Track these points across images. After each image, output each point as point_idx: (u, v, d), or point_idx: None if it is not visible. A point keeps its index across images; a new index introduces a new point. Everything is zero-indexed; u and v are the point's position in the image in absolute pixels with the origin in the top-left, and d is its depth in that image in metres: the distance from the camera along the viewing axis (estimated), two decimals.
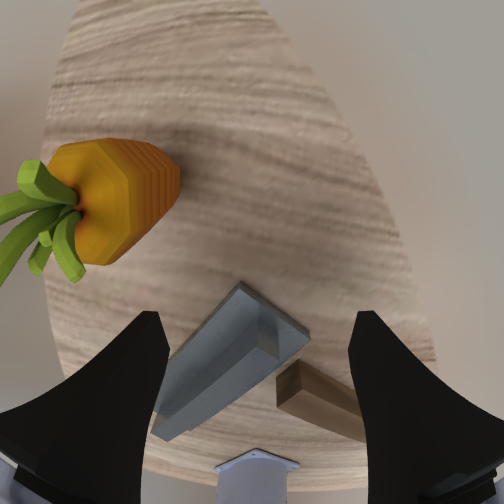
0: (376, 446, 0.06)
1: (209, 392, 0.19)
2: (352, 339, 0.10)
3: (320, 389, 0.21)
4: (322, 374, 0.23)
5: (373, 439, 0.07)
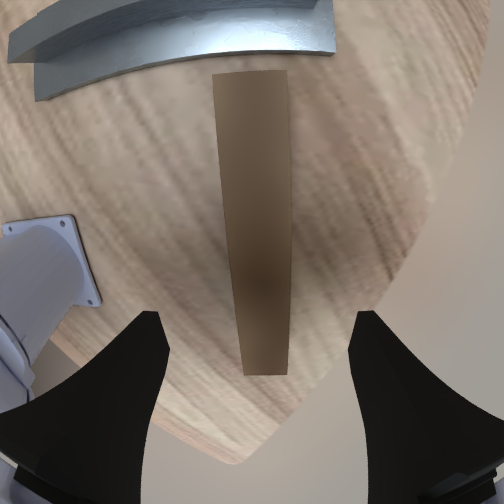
0: (376, 446, 0.06)
1: None
2: (352, 339, 0.10)
3: None
4: None
5: (373, 439, 0.07)
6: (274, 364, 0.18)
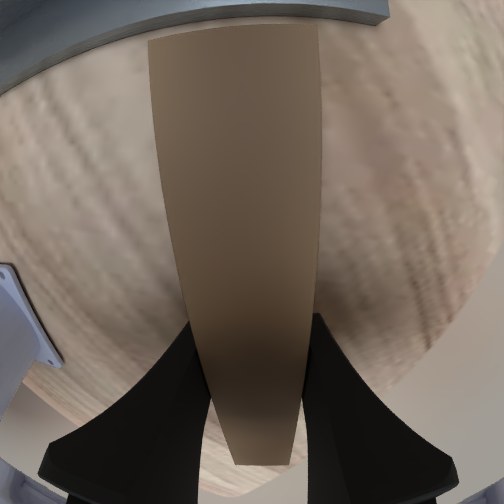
0: (311, 455, 0.06)
1: None
2: None
3: None
4: None
5: (310, 447, 0.07)
6: (273, 459, 0.12)
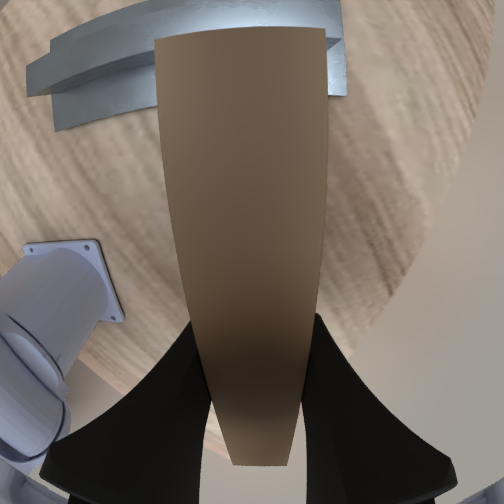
0: (310, 455, 0.06)
1: (197, 9, 0.08)
2: None
3: None
4: None
5: (309, 447, 0.07)
6: (271, 460, 0.12)
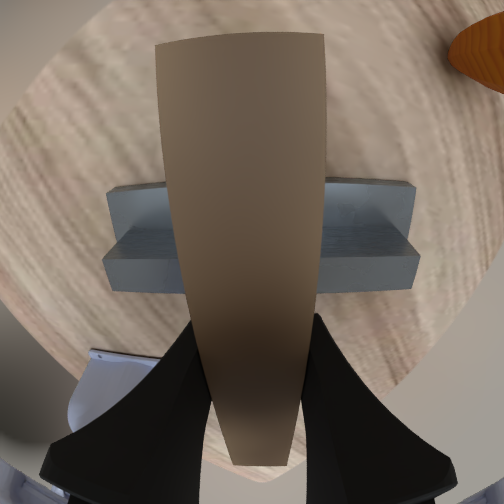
0: (310, 455, 0.06)
1: None
2: None
3: None
4: None
5: (309, 447, 0.07)
6: (271, 460, 0.12)
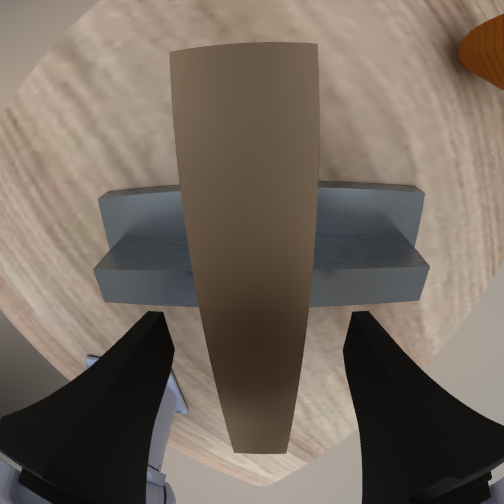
0: (370, 447, 0.06)
1: None
2: (347, 339, 0.10)
3: None
4: None
5: (367, 440, 0.07)
6: (271, 446, 0.13)
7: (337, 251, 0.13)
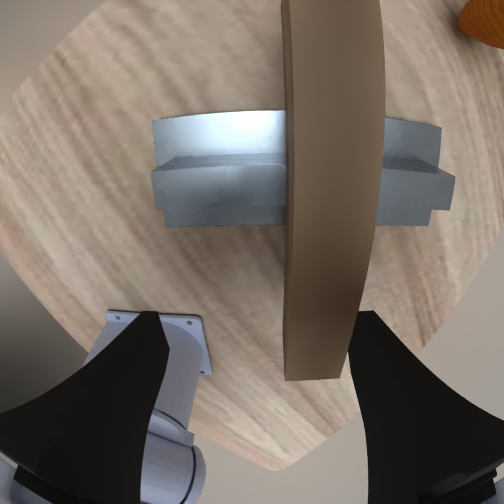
0: (376, 446, 0.06)
1: None
2: (352, 339, 0.10)
3: None
4: None
5: (373, 439, 0.07)
6: (327, 365, 0.13)
7: None
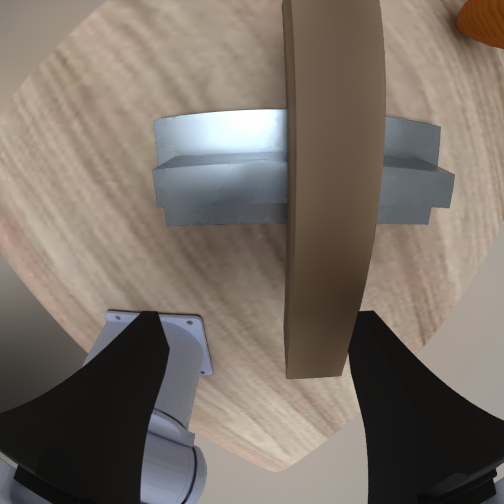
0: (376, 446, 0.06)
1: None
2: (352, 339, 0.10)
3: None
4: None
5: (373, 439, 0.07)
6: (328, 363, 0.13)
7: None
